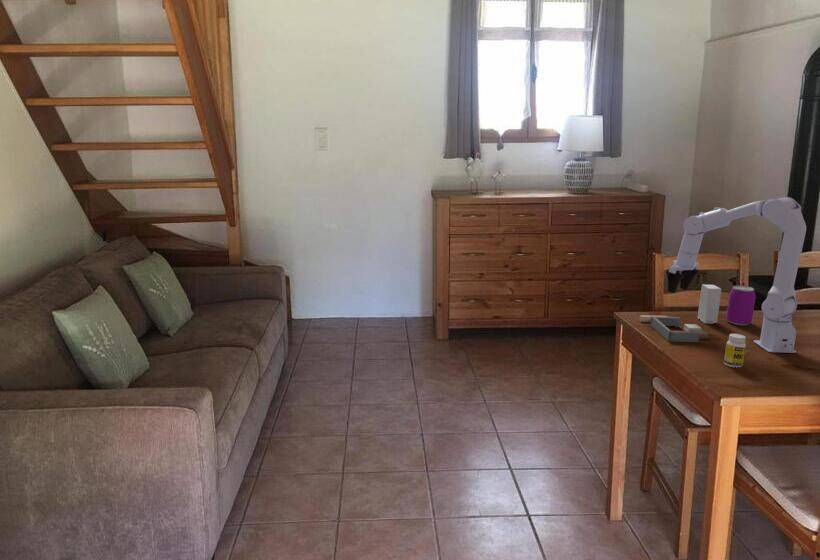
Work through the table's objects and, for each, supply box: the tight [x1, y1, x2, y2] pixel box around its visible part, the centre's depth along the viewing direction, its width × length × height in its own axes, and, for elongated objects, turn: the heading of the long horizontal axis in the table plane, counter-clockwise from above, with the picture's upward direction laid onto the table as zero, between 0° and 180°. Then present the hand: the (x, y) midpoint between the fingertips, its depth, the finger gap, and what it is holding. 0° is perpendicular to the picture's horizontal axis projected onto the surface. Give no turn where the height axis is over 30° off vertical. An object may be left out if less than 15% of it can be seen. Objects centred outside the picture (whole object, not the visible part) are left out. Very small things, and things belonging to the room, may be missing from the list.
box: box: [650, 316, 700, 343], centre depth 203 cm, size 16×9×3 cm, turn 179°
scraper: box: [638, 314, 669, 323], centre depth 215 cm, size 7×11×2 cm, turn 89°
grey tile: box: [683, 323, 703, 332], centre depth 206 cm, size 4×4×2 cm
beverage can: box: [725, 285, 757, 327], centre depth 214 cm, size 8×8×12 cm
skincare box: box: [697, 283, 722, 324], centre depth 215 cm, size 6×4×12 cm
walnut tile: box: [691, 329, 710, 340], centre depth 200 cm, size 4×4×2 cm
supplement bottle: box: [723, 333, 747, 369], centre depth 176 cm, size 5×5×8 cm
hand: (677, 290), depth 214 cm, fingers open, 7 cm apart
